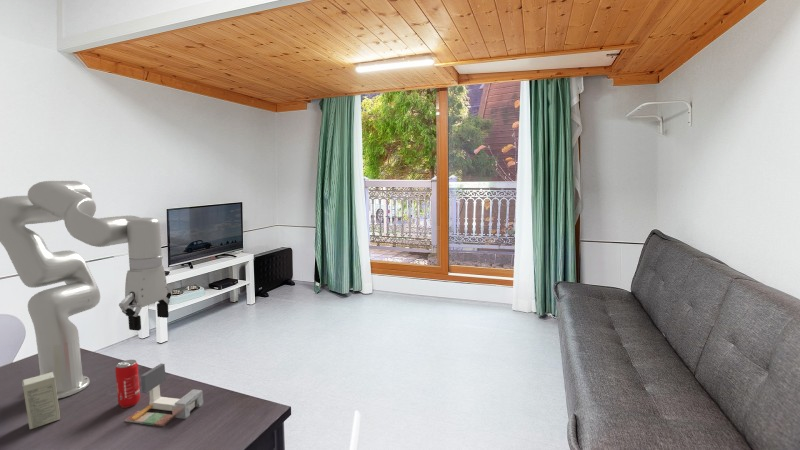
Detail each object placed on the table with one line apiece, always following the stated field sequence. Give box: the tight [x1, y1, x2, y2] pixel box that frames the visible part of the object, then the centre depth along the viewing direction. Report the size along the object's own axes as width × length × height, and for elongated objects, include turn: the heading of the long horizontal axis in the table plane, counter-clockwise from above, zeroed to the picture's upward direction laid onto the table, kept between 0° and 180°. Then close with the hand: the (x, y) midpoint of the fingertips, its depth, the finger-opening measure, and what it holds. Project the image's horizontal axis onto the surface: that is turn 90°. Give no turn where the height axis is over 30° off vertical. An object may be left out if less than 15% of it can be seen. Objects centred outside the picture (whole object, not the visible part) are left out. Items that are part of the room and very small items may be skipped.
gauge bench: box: [124, 389, 204, 427], centre depth 108 cm, size 15×11×4 cm
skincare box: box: [22, 372, 61, 430], centre depth 104 cm, size 6×4×12 cm
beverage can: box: [115, 359, 141, 409], centre depth 112 cm, size 5×5×12 cm
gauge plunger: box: [131, 363, 196, 420], centre depth 108 cm, size 12×11×11 cm
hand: (149, 323), depth 110 cm, fingers open, 9 cm apart
